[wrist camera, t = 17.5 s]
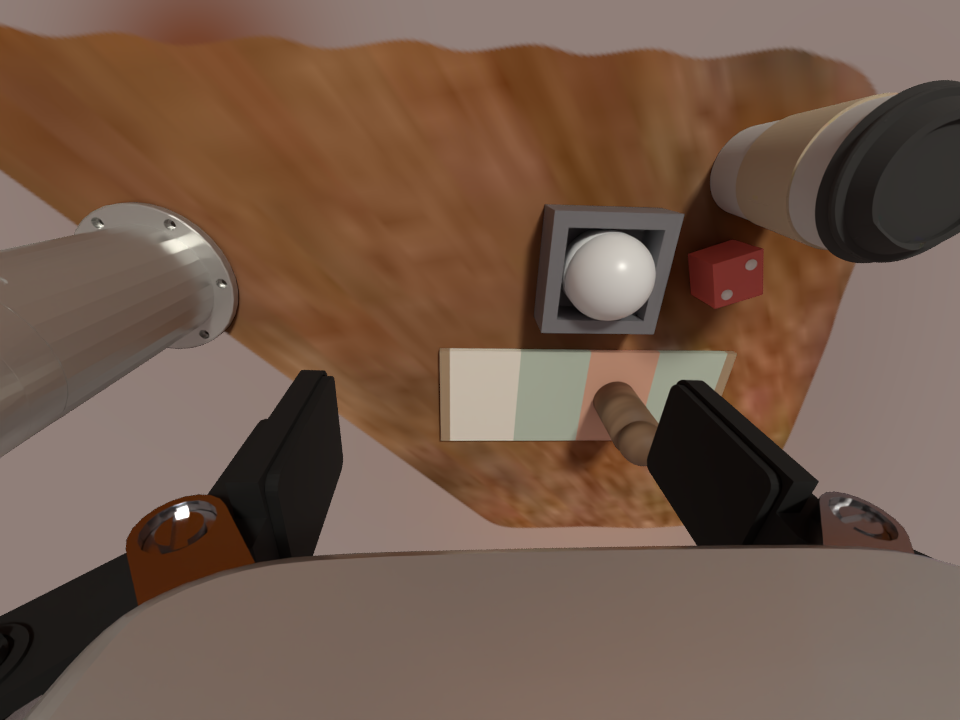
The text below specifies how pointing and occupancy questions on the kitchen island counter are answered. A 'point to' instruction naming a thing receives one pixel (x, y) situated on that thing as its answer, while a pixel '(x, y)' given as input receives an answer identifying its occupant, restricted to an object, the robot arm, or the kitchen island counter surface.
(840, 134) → the coffee cup
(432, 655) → the robot arm
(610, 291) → the dome
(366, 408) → the kitchen island counter surface
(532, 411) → the game board
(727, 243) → the red die
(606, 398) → the walnut pawn
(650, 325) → the base
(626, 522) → the kitchen island counter surface
